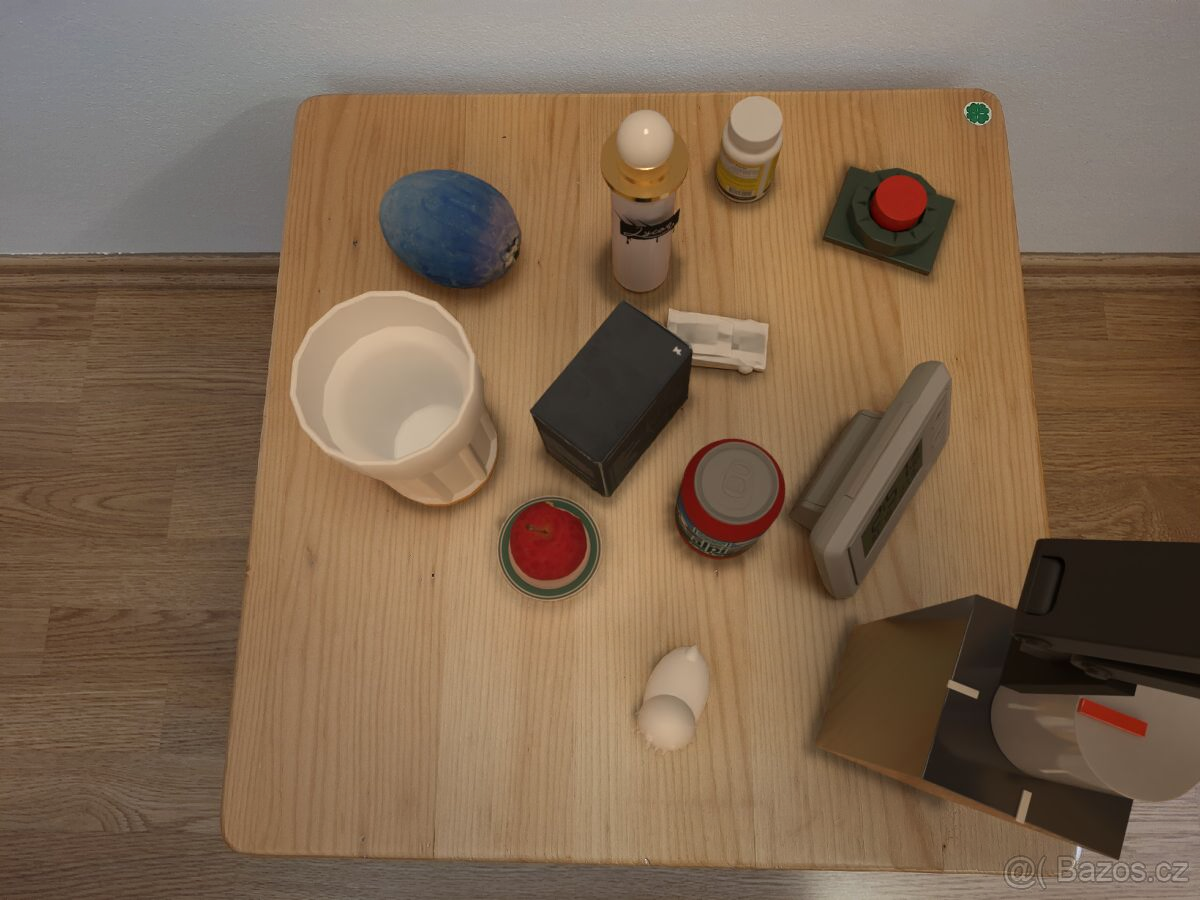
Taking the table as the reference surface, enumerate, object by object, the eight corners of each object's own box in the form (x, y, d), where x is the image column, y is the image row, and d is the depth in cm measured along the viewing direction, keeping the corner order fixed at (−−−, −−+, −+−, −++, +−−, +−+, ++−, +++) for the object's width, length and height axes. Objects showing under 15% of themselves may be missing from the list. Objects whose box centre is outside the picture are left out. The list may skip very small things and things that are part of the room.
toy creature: (622, 738, 64) (621, 744, 58) (663, 634, 66) (667, 629, 60) (681, 765, 63) (687, 773, 57) (721, 658, 65) (731, 656, 59)
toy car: (668, 314, 72) (669, 302, 70) (767, 323, 72) (771, 312, 70) (662, 368, 71) (663, 358, 69) (763, 378, 71) (767, 368, 69)
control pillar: (974, 672, 64) (1171, 665, 41) (937, 798, 62) (1123, 865, 39) (852, 624, 66) (976, 590, 42) (812, 746, 64) (919, 781, 40)
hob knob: (1113, 691, 41) (1231, 692, 33) (1086, 798, 40) (1201, 826, 32) (1006, 649, 42) (1097, 640, 34) (977, 753, 41) (1063, 770, 33)
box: (624, 350, 72) (623, 294, 62) (689, 397, 70) (700, 349, 60) (540, 450, 70) (526, 411, 60) (607, 501, 69) (603, 469, 58)
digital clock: (833, 613, 66) (872, 599, 56) (744, 526, 68) (765, 498, 57) (976, 463, 68) (1037, 424, 58) (886, 384, 70) (931, 332, 60)
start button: (926, 196, 72) (933, 184, 70) (911, 238, 71) (918, 227, 69) (878, 180, 73) (884, 168, 71) (863, 221, 72) (869, 210, 70)
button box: (952, 204, 74) (963, 188, 72) (928, 276, 73) (938, 262, 70) (848, 170, 75) (856, 152, 73) (822, 240, 74) (829, 225, 71)
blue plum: (528, 261, 63) (349, 182, 65) (520, 347, 70) (359, 272, 72) (584, 198, 68) (416, 127, 71) (571, 283, 75) (419, 216, 77)
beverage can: (661, 543, 68) (668, 513, 56) (690, 462, 69) (702, 417, 58) (747, 573, 67) (771, 550, 55) (773, 490, 68) (803, 450, 57)
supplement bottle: (753, 145, 76) (768, 81, 68) (782, 188, 75) (801, 128, 67) (704, 169, 76) (714, 107, 68) (732, 213, 74) (745, 155, 66)
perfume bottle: (598, 247, 74) (589, 92, 55) (666, 232, 74) (680, 72, 55) (614, 309, 73) (610, 173, 53) (683, 294, 73) (703, 152, 53)
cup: (525, 394, 71) (494, 303, 54) (496, 532, 68) (453, 482, 51) (388, 371, 72) (315, 275, 55) (353, 507, 69) (265, 449, 52)
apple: (489, 508, 69) (476, 490, 62) (591, 488, 69) (588, 468, 63) (507, 611, 67) (494, 603, 60) (612, 590, 67) (610, 580, 60)
